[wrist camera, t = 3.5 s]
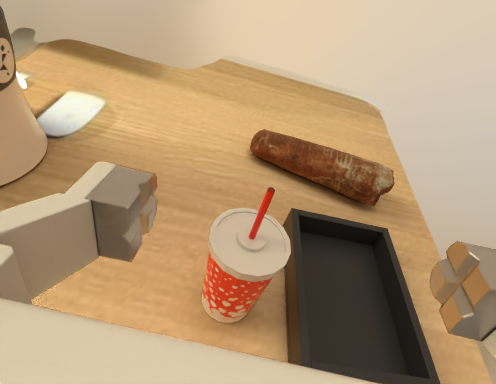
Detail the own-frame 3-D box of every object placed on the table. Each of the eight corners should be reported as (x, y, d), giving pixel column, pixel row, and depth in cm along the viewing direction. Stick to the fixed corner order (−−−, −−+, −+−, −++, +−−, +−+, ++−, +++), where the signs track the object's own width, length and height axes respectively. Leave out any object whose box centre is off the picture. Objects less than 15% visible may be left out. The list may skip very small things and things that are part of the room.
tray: (289, 383, 26) (302, 371, 24) (282, 225, 38) (291, 207, 36) (420, 401, 28) (443, 391, 26) (374, 243, 40) (387, 228, 38)
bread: (373, 217, 43) (397, 187, 39) (242, 159, 45) (252, 125, 41) (376, 189, 48) (397, 160, 44) (257, 138, 50) (267, 105, 46)
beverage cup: (250, 342, 28) (313, 243, 18) (181, 317, 28) (209, 205, 18) (264, 281, 32) (321, 177, 23) (205, 260, 32) (237, 147, 23)
